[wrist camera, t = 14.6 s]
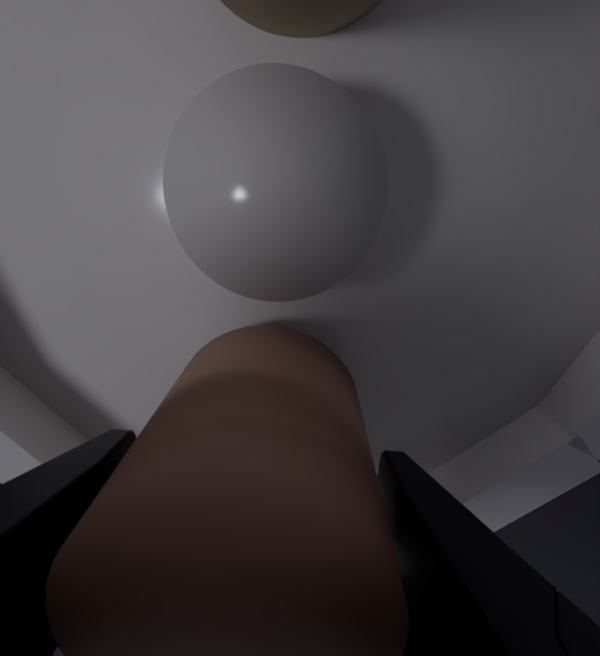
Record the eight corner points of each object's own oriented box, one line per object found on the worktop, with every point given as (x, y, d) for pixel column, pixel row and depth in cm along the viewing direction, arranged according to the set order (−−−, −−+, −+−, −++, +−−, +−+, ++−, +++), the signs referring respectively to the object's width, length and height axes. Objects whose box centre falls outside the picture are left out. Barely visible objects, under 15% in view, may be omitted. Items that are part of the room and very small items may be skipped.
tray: (875, -347, 6) (1218, -671, 4) (549, 519, 13) (608, 598, 10) (-251, -461, 6) (-604, -874, 4) (-27, 474, 12) (-109, 545, 10)
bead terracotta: (347, 491, 10) (380, 747, 6) (178, 478, 10) (68, 724, 6) (370, 333, 9) (442, 499, 4) (173, 317, 9) (17, 466, 4)
